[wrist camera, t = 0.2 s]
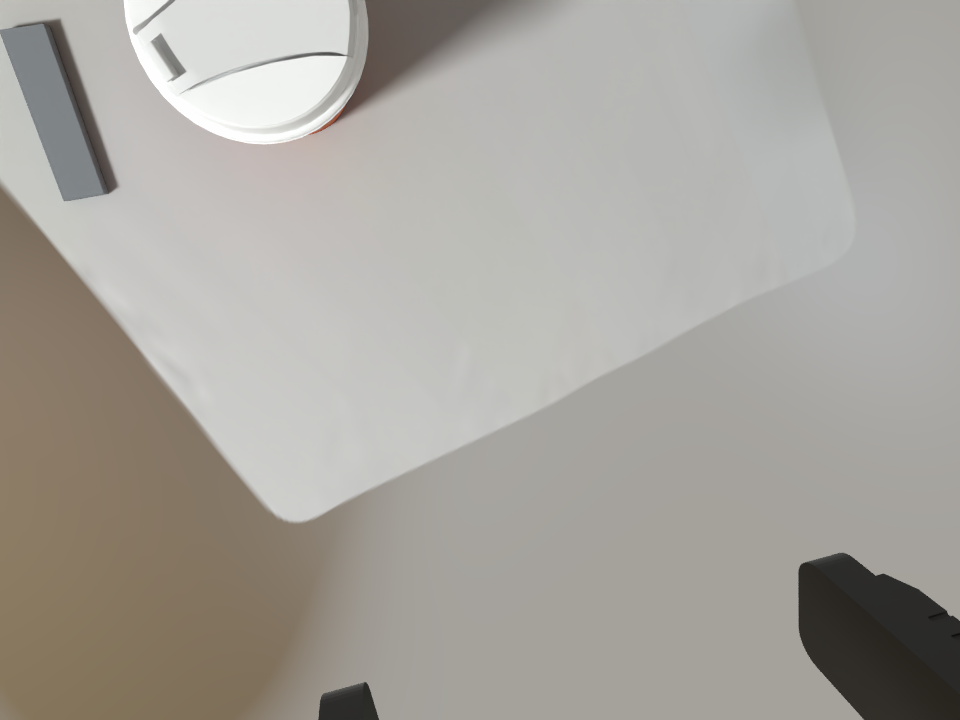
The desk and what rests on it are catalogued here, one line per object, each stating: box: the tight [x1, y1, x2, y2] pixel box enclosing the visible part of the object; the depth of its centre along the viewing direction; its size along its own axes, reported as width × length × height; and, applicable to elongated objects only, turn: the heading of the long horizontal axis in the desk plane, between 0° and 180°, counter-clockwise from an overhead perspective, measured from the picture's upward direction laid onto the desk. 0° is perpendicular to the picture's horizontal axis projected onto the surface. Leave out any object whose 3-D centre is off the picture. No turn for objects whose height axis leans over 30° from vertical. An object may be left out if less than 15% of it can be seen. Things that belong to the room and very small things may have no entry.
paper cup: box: [124, 0, 368, 144], centre depth 25 cm, size 8×8×14 cm
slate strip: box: [0, 24, 109, 201], centre depth 30 cm, size 8×2×1 cm, turn 10°
